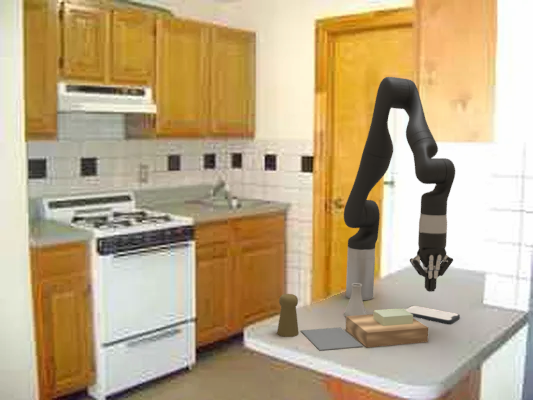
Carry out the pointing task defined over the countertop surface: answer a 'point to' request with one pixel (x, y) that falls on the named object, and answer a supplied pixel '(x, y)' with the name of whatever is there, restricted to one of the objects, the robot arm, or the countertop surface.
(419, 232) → the robot arm
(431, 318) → the phone case
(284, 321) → the pepper mill
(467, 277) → the countertop surface
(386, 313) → the block
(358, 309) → the flask
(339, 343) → the mat
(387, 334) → the board
